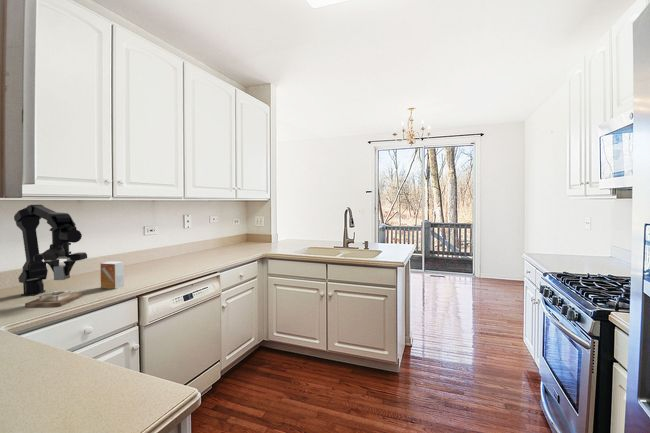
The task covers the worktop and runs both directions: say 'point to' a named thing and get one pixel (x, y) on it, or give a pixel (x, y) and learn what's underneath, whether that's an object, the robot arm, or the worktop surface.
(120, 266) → the small box
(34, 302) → the holder board
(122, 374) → the worktop surface
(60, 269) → the steel pin
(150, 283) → the worktop surface
